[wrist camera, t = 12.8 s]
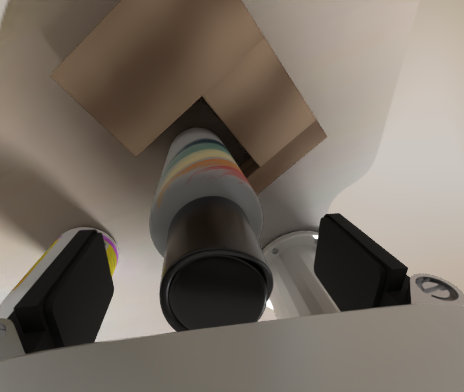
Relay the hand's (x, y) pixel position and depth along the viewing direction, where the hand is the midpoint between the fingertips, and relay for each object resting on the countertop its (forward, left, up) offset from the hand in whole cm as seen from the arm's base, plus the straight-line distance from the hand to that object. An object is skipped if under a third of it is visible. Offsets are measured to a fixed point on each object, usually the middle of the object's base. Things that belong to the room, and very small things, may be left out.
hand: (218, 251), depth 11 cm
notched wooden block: (+4, -4, -17) cm, 18 cm away
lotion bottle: (0, 0, -17) cm, 17 cm away
